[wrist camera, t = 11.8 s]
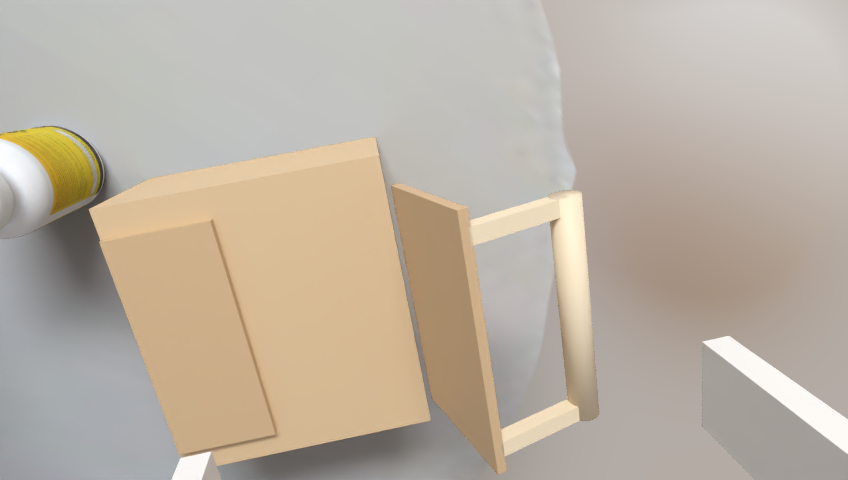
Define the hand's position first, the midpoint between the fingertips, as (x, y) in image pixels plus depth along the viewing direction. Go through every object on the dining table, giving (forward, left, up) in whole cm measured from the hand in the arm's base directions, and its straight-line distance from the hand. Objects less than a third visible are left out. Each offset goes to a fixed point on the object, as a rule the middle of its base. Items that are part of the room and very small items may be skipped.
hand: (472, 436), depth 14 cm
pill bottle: (-25, +6, -33) cm, 42 cm away
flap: (+1, -6, -17) cm, 18 cm away
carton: (-10, -6, -32) cm, 34 cm away
